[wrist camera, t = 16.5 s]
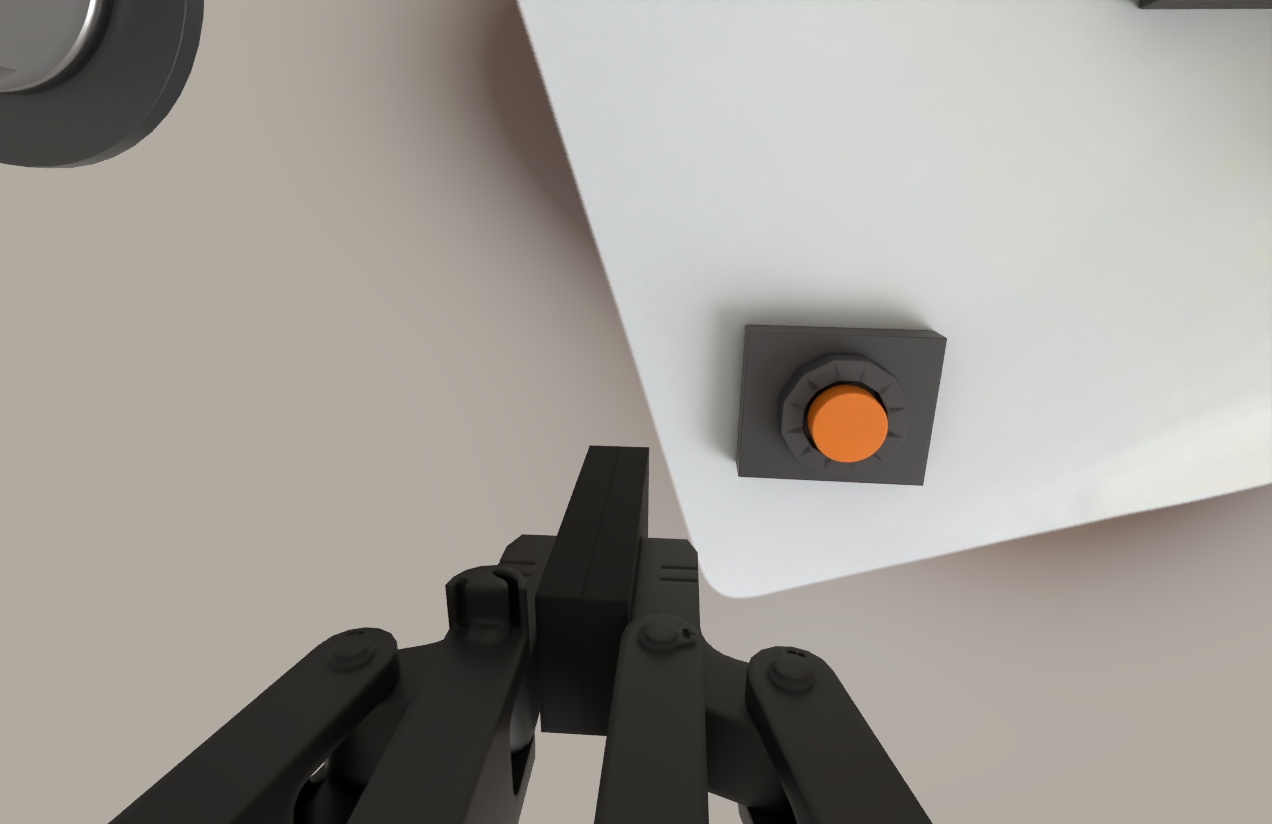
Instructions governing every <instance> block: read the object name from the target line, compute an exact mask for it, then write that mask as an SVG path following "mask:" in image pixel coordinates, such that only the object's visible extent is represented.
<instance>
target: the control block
mask: <svg viewBox="0 0 1272 824" xmlns="http://www.w3.org/2000/svg"><path fill="white" fill-rule="evenodd" d="M946 342H947V338H946V337H944V336H942V335H940V334H939V333H937V332H935V331H928V330H897V329H866V328H834V327H803V326H772V325H746V327H745V342H744V357H743V371H742V386H741V401H740V415H739V430H738V445H737V459H736V464H737V471H738V476H739V477H756V478H776V479H797V480H817V481H838V482H858V483H879V484H899V485H920V486H923V483H924V477H925V470H926V464H927V458H928V452H929V446H930V440H931V434H932V428H933V421H934V415H935V409H936V403H937V397H938V391H939V385H940V378H941V372H942V366H943V360H944V354H945V348H946ZM837 385H854V386H858V387H861V388H863V389H865V390H866V391H868V392H869V393H870V394H871V395H872V396H873V397H874V398H875V399H876V400H877V402H878V403H879V404H880V405H881V406H882V408H883V409H884V411H885V413H886V416H887V420H888V430H887V434H886V437H885V440H884V441H883V443H882V445H881V446H880V447H879V449H878V450H877V451H876V452H874V453H873V454H872V455H870V456H869V457H867V458H865V459H863V460H860V461H856V462H839V461H835V460H833V459H830V458H828V457H827V456H825V455H824V454H823V453H822V452H821V451H820V450H819V449H818V448H817V446H816V444H815V442H814V440H813V438H812V436H811V434H810V432H809V429H808V424H807V416H808V412H809V409H810V406H811V404H812V403H813V401H814V400H815V399H816V397H817V396H818V395H820V394H821V393H822V392H823V391H825V390H827V389H829V388H831V387H834V386H837Z"/></svg>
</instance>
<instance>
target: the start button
mask: <svg viewBox="0 0 1272 824" xmlns="http://www.w3.org/2000/svg"><path fill="white" fill-rule="evenodd" d="M807 424H808V429H809V432H810V434H811V436H812V438H813V440H814V442H815V444H816V446H817V448H818V449H819V450H820V451H821V452H822V453H823V454H824V455H825V456H827V457H828V458H830V459H833V460H835V461H839V462H856V461H860V460H863V459H865V458H867V457H869V456H870V455H872V454H873V453H874V452H876V451H877V450H878V449H879V447H880V446H881V445H882V443H883V441H884V440H885V437H886V434H887V430H888V420H887V416H886V413H885V411H884V409H883V408H882V406H881V405H880V404H879V403H878V402H877V400H876V399H875V398H874V397H873V396H872V395H871V394H870V393H869V392H868V391H866V390H865V389H863V388H861V387H858V386H854V385H837V386H834V387H831V388H829V389H827V390H825V391H823V392H822V393H821V394H820V395H818V396H817V397H816V399H815V400H814V401H813V403H812V404H811V406H810V409H809V412H808V416H807Z"/></svg>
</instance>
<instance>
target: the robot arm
mask: <svg viewBox="0 0 1272 824" xmlns="http://www.w3.org/2000/svg"><path fill="white" fill-rule="evenodd" d="M113 4H114V0H0V93H1V94H12V95H23V94H33V93H39V92H42V91H46V90H49V89H52V88H54V87H56V86H58V85H61V84H62V83H64V82H66V81H67V80H69V79H71V78H72V77H73V76H74V75H76V74H77V73H78V72H79V71H80V70H81V69H82V68H83V67H84V66H85V65H86V64H87V63H88V62H89V60H90V59H91V58H92V56H93V55H94V54H95V52H96V51H97V49H98V47H99V45H100V43H101V42H102V40H103V37H104V35H105V33H106V30H107V27H108V24H109V21H110V18H111V14H112V9H113ZM648 482H649V447H619V446H590V447H589V450H588V452H587V455H586V458H585V460H584V463H583V466H582V469H581V471H580V474H579V477H578V480H577V482H576V485H575V488H574V490H573V493H572V496H571V499H570V501H569V504H568V507H567V510H566V512H565V515H564V518H563V521H562V524H561V526H560V529H559V532H558V535H557V536H548V535H521V536H520V537H518V538H517V539H516V540H515V541H513V542H512V543H511V544H509V545H508V546H507V547H506V549H505V551H504V553H503V555H502V557H501V559H500V563H499V564H498V565H491V566H480V567H476V568H472V569H469V570H466V571H463V572H462V573H460V574H458V575H456V576H454V577H453V578H452V579H451V580H450V581H449V582H448V583H447V584H446V585H445V587H446V598H447V608H448V618H449V628H450V629H449V631H448V632H447V634H446V636H445V638H444V640H441V641H439V642H436V643H431V644H427V645H422V646H416V647H411V648H404V649H398V648H397V642H396V640H395V639H394V637H393V636H392V634H391V633H389V632H387V631H384V630H382V629H378V628H366V627H365V628H358V629H352V630H347V631H345V632H342V633H339V634H337V635H334V636H332V637H330V638H329V639H327V640H326V641H324V642H322V643H321V644H319V645H318V646H317V647H316V648H315V649H313V650H312V651H311V652H310V653H309V654H307V655H306V656H305V657H304V658H303V659H301V660H300V661H299V662H298V663H297V664H296V665H295V666H293V667H292V668H291V669H290V670H289V671H287V672H286V673H285V674H284V675H283V676H281V677H280V678H279V679H278V680H277V681H276V682H274V683H273V684H272V685H271V686H270V687H268V688H267V689H266V690H265V691H264V692H263V693H261V694H260V695H259V696H258V697H257V698H256V699H254V700H253V701H252V702H251V703H250V704H248V705H247V706H246V707H245V708H244V709H243V710H241V711H240V712H239V713H238V714H237V715H236V716H234V717H233V718H232V719H231V720H230V721H229V722H227V723H226V724H225V725H224V726H223V727H221V728H220V729H219V730H218V731H217V732H215V733H214V734H213V735H212V736H211V737H210V738H208V739H207V740H206V741H205V742H204V743H202V744H201V745H200V746H199V747H198V748H197V749H196V750H194V751H193V752H192V753H191V754H190V755H188V756H187V757H186V758H185V759H184V760H183V761H181V762H180V763H179V764H178V765H177V766H176V767H174V768H173V769H172V770H171V771H170V772H168V773H167V774H166V775H165V776H164V777H162V778H161V779H160V780H159V781H158V782H157V783H155V784H154V785H153V786H152V787H151V788H150V789H148V790H147V791H146V792H145V793H144V794H143V795H141V796H140V797H139V798H138V799H137V800H135V801H134V802H133V803H132V804H131V805H130V806H128V807H127V808H126V809H125V810H124V811H122V812H121V813H120V814H119V815H118V816H117V817H115V818H114V819H113V820H112V821H111V822H109V823H108V824H518V821H519V817H520V814H521V810H522V806H523V802H524V798H525V794H526V790H527V786H528V783H529V779H530V775H531V771H532V767H533V763H534V759H535V734H534V731H535V727H536V724H537V720H538V716H539V713H540V717H541V732H550V733H566V734H582V735H599V736H607V739H606V746H605V752H604V758H603V765H602V772H601V779H600V786H599V793H598V800H597V807H596V814H595V820H594V824H709V816H708V815H709V813H708V792H710V793H713V794H716V795H719V796H721V797H724V798H726V799H729V800H732V801H734V802H737V803H738V808H739V814H740V817H741V820H742V823H743V824H932V823H931V821H930V819H929V817H928V816H927V814H926V813H925V811H924V810H923V808H922V807H921V806H920V804H919V802H918V801H917V799H916V797H915V796H914V794H913V793H912V791H911V790H910V788H909V787H908V785H907V784H906V782H905V781H904V779H903V778H902V776H901V774H900V773H899V771H898V770H897V768H896V767H895V765H894V764H893V762H892V761H891V759H890V758H889V756H888V754H887V753H886V751H885V750H884V748H883V747H882V745H881V744H880V742H879V741H878V739H877V737H876V736H875V735H874V733H873V731H872V730H871V728H870V727H869V725H868V724H867V722H866V721H865V719H864V718H863V716H862V714H861V713H860V712H859V710H858V708H857V707H856V705H855V704H854V702H853V701H852V699H851V697H850V696H849V694H848V693H847V692H846V690H845V688H844V687H843V685H842V684H841V682H840V681H839V679H838V677H837V676H836V674H835V673H834V671H833V670H832V669H831V668H830V667H829V666H828V665H827V664H826V662H825V661H823V659H821V658H819V657H818V656H816V655H814V654H812V653H810V652H809V651H806V650H802V649H798V648H795V647H783V646H780V647H779V646H775V647H771V648H767V649H764V650H761V651H759V652H758V653H757V654H755V655H754V656H753V657H751V660H750V662H749V663H747V662H744V661H740V660H737V659H734V658H731V657H729V656H726V655H723V654H722V653H720V652H718V651H717V650H715V649H714V648H713V647H711V646H710V645H709V644H708V643H707V642H706V640H705V639H704V637H703V635H702V633H701V629H700V613H699V584H698V583H699V582H698V553H697V551H696V550H695V549H694V548H693V546H692V545H691V544H690V542H689V541H688V540H687V539H662V538H648V486H649V483H648ZM323 762H324V765H323V766H322V767H321V768H320V769H319V770H318V771H317V772H316V773H315V774H314V775H312V774H313V773H314V772H315V771H316V770H317V769H318V768H319V767H320V766H321V764H322V763H323ZM311 775H312V776H311ZM310 776H311V777H310ZM309 777H310V778H309Z"/></svg>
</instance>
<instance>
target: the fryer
mask: <svg viewBox="0 0 1272 824" xmlns="http://www.w3.org/2000/svg"><path fill="white" fill-rule="evenodd" d="M1139 8H1140V9H1272V0H1141V1H1140V6H1139Z"/></svg>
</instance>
